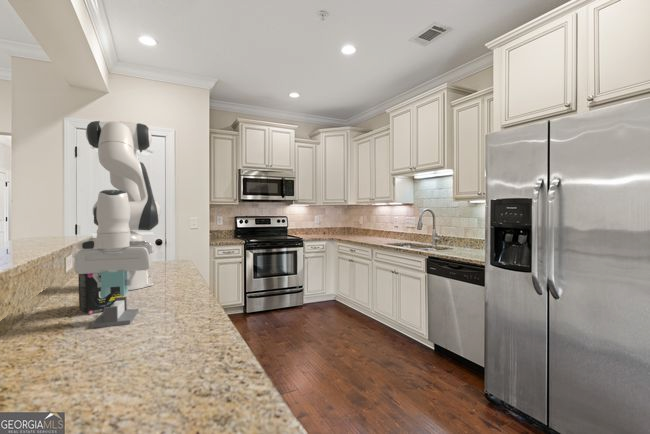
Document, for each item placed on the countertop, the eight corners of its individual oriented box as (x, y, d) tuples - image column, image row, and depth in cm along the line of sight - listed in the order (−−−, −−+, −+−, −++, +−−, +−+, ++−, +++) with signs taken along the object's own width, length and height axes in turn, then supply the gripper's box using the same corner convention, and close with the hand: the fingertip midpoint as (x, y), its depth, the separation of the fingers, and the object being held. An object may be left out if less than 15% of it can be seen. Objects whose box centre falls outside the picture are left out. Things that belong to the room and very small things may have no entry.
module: (106, 293, 104) (106, 267, 104) (128, 291, 106) (127, 266, 106) (101, 297, 99) (100, 270, 99) (123, 295, 101) (123, 269, 101)
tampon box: (88, 315, 108) (86, 270, 107) (78, 309, 113) (77, 267, 113) (124, 307, 117) (123, 265, 116) (113, 302, 122) (112, 263, 122)
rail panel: (103, 315, 107) (103, 298, 107) (138, 312, 111) (138, 295, 111) (90, 328, 96) (90, 309, 96) (129, 324, 99) (129, 305, 99)
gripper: (153, 239, 109) (153, 281, 109) (79, 242, 102) (80, 286, 102) (149, 241, 103) (150, 285, 103) (71, 244, 96) (72, 291, 97)
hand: (115, 286), depth 103 cm, fingers closed on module, 6 cm apart
